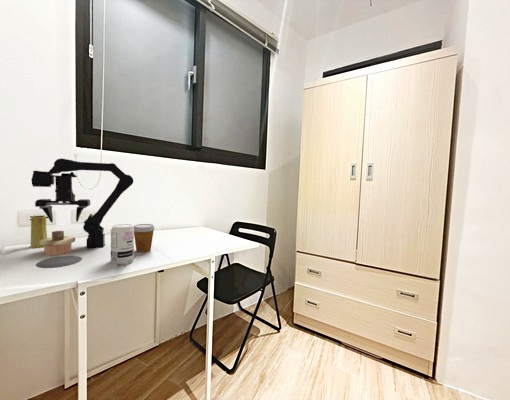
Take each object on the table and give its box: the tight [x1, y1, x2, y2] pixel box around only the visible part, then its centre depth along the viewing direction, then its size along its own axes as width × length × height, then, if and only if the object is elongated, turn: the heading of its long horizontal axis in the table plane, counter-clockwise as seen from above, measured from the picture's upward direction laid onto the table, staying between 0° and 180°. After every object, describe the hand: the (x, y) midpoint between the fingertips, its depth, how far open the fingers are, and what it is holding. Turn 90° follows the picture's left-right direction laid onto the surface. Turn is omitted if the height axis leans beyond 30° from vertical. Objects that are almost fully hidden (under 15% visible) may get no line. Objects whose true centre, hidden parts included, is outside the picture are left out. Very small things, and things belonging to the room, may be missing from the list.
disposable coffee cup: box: [132, 223, 156, 253], centre depth 115 cm, size 10×10×12 cm
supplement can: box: [110, 223, 135, 266], centre depth 98 cm, size 8×8×15 cm
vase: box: [29, 215, 48, 249], centre depth 112 cm, size 6×6×14 cm
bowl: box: [43, 242, 73, 256], centre depth 105 cm, size 9×9×5 cm
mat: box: [35, 255, 83, 269], centre depth 94 cm, size 14×14×1 cm
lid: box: [40, 230, 76, 246], centre depth 105 cm, size 12×12×4 cm
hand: (64, 221), depth 109 cm, fingers open, 9 cm apart
